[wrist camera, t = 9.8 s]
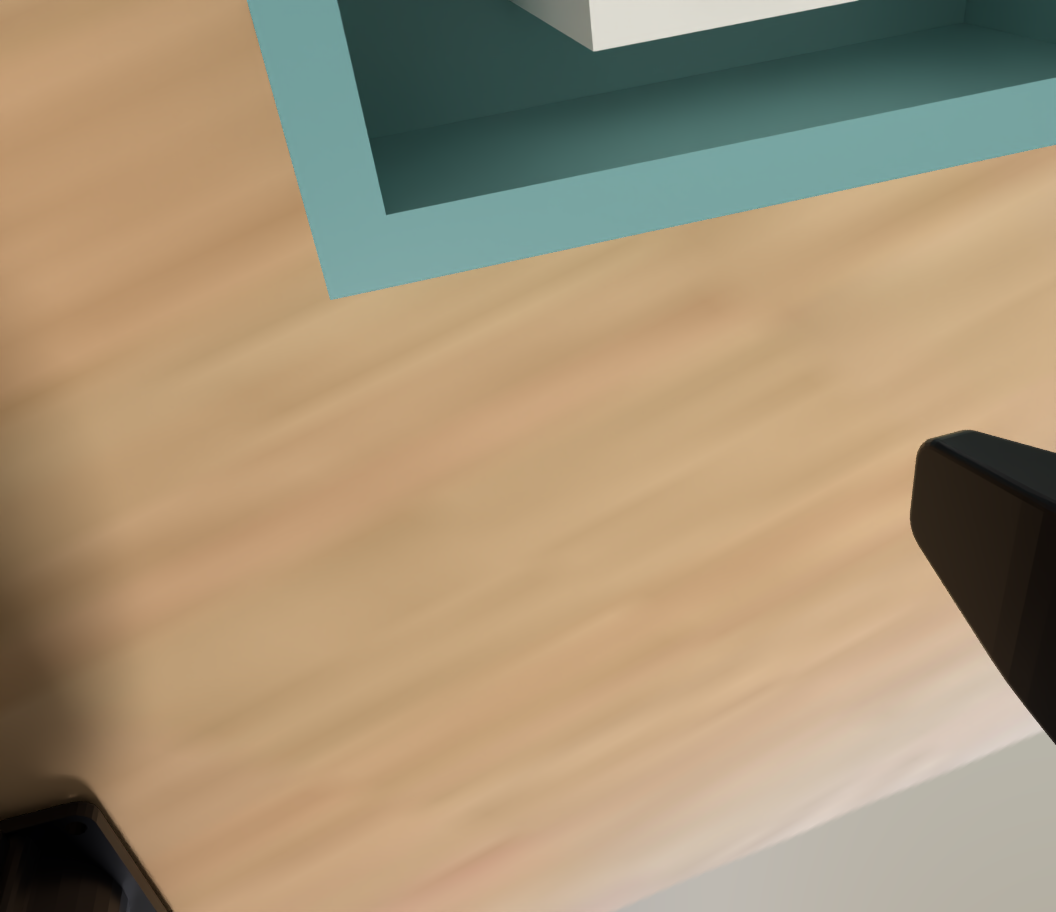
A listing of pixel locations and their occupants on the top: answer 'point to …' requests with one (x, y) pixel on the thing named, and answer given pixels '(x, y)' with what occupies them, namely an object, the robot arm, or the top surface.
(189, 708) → the top surface
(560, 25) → the small crate
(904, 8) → the box
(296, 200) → the top surface
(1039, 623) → the robot arm
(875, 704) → the top surface
